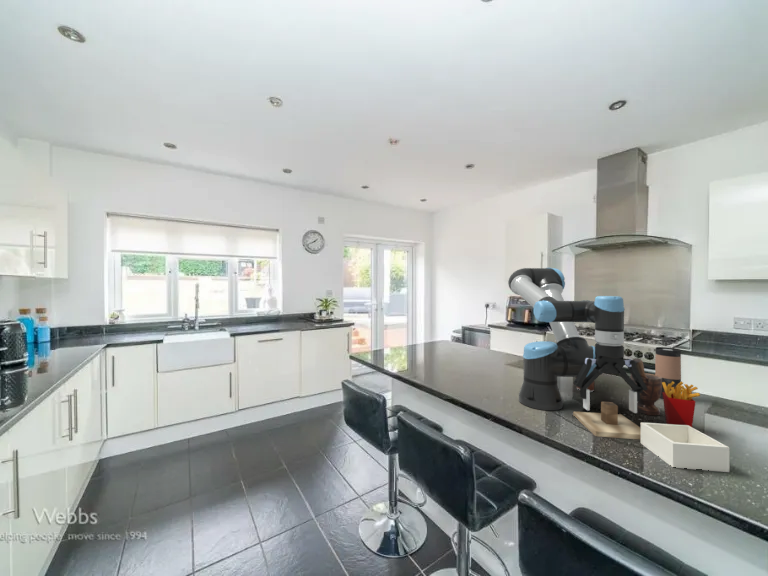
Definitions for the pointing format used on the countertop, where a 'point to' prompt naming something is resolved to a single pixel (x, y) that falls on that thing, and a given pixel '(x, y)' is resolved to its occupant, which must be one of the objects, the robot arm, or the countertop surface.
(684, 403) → the french fries
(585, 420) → the lid
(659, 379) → the mortar and pestle
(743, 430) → the countertop surface
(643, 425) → the white open storage bin
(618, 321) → the robot arm
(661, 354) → the travel mug
